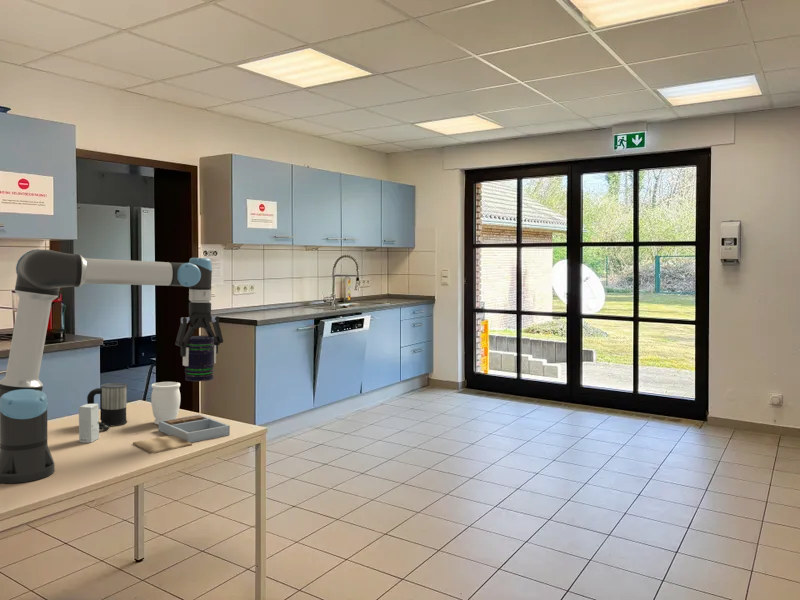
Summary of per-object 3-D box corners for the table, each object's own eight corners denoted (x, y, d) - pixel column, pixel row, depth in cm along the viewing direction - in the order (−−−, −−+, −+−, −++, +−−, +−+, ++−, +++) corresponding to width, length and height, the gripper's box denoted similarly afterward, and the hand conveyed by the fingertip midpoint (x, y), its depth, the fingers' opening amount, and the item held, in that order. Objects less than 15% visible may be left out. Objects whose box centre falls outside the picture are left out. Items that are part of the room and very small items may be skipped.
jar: (186, 422, 239) (186, 383, 238) (163, 427, 231) (163, 387, 230) (168, 417, 245) (168, 380, 244) (145, 423, 236) (145, 384, 235)
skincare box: (91, 443, 209) (91, 407, 208) (78, 442, 209) (78, 407, 208) (99, 437, 215) (99, 403, 214) (86, 437, 215) (86, 403, 214)
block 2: (183, 431, 226) (183, 420, 226) (177, 429, 229) (177, 418, 229) (193, 429, 230) (193, 418, 229) (186, 427, 232) (186, 416, 232)
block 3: (193, 429, 230) (193, 418, 229) (189, 427, 232) (189, 416, 232) (203, 427, 232) (203, 417, 232) (199, 425, 235) (199, 415, 235)
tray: (187, 443, 211) (187, 433, 211) (158, 430, 226) (158, 421, 226) (229, 434, 223) (229, 425, 223) (199, 423, 238) (199, 414, 238)
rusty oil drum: (178, 379, 219) (178, 337, 218) (199, 375, 227) (199, 334, 227) (199, 382, 214) (199, 339, 213) (219, 378, 223) (220, 336, 222)
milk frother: (126, 419, 241) (126, 381, 240) (131, 429, 228) (131, 389, 227) (85, 423, 234) (84, 384, 233) (88, 433, 220) (88, 392, 219)
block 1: (170, 433, 223) (170, 422, 223) (165, 431, 226) (165, 420, 226) (181, 431, 226) (181, 420, 226) (176, 429, 229) (176, 418, 228)
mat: (151, 453, 199) (151, 451, 199) (132, 444, 209) (132, 442, 209) (192, 445, 209) (192, 443, 209) (172, 436, 219) (172, 434, 219)
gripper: (174, 302, 209) (174, 368, 210) (234, 301, 225) (233, 362, 226) (164, 301, 214) (164, 365, 215) (223, 300, 230) (222, 360, 231)
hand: (199, 364), depth 220 cm, fingers closed on rusty oil drum, 10 cm apart
